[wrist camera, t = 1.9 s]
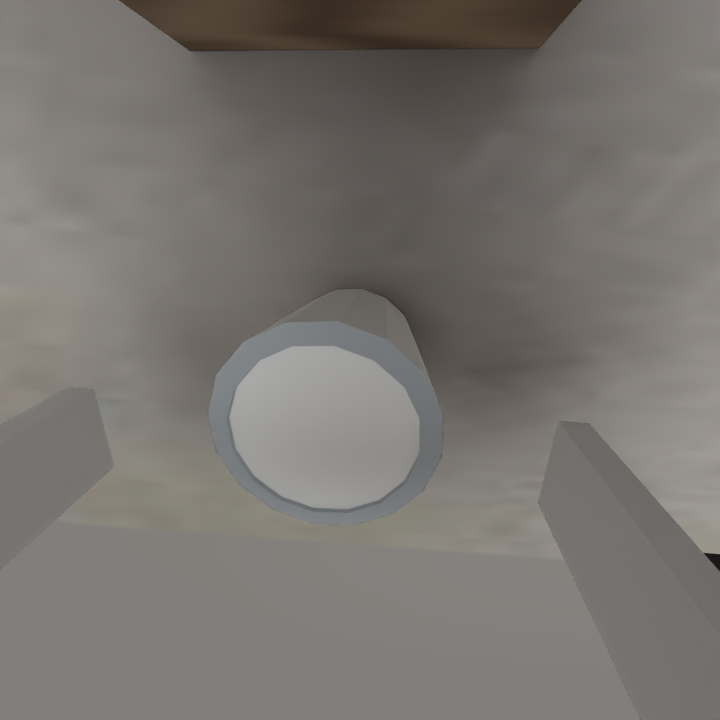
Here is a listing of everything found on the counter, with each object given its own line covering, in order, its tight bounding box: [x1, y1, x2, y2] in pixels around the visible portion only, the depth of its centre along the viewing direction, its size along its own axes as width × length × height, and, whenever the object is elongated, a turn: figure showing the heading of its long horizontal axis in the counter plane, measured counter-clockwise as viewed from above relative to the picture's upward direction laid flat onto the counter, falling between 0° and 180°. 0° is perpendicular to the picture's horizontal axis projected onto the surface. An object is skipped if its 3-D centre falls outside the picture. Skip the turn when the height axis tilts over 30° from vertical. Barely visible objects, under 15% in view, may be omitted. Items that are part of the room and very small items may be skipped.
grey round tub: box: [208, 289, 443, 525], centre depth 14 cm, size 7×7×7 cm
